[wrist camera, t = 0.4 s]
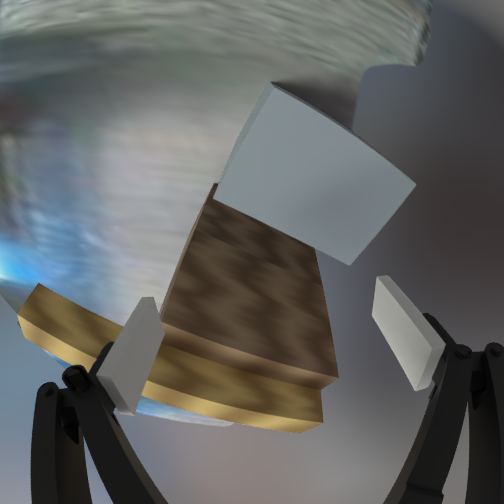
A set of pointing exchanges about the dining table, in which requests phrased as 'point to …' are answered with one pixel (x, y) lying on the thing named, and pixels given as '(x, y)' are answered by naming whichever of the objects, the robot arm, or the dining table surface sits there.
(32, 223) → the dining table surface
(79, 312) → the ochre bar
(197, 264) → the tall tower
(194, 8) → the dining table surface
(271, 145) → the light grey tall block
